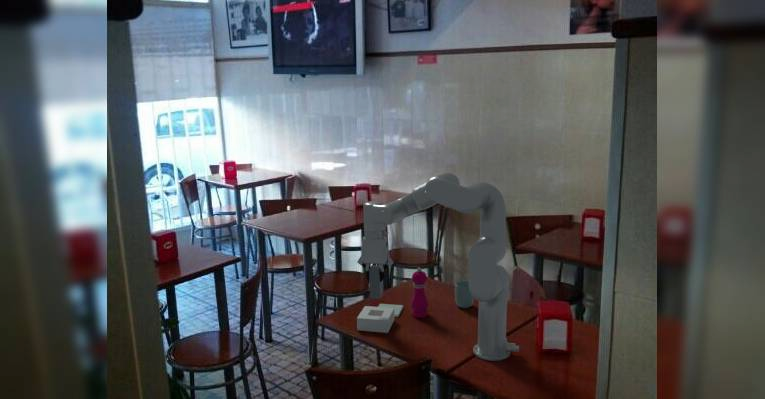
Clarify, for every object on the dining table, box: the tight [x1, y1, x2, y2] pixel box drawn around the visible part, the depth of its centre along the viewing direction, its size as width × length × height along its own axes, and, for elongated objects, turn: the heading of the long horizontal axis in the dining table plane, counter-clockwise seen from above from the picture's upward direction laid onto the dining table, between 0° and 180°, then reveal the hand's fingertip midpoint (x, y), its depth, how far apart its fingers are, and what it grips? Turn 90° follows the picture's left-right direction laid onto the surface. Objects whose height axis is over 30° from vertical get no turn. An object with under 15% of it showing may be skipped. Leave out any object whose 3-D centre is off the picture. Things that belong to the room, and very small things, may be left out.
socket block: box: [356, 305, 395, 334], centre depth 225 cm, size 12×12×5 cm
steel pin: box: [368, 264, 384, 300], centre depth 222 cm, size 4×4×12 cm
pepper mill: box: [410, 267, 429, 319], centre depth 233 cm, size 7×7×20 cm
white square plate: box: [377, 303, 404, 318], centre depth 239 cm, size 10×10×1 cm
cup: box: [454, 280, 475, 309], centre depth 241 cm, size 8×8×10 cm
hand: (375, 279), depth 222 cm, fingers closed on steel pin, 4 cm apart
